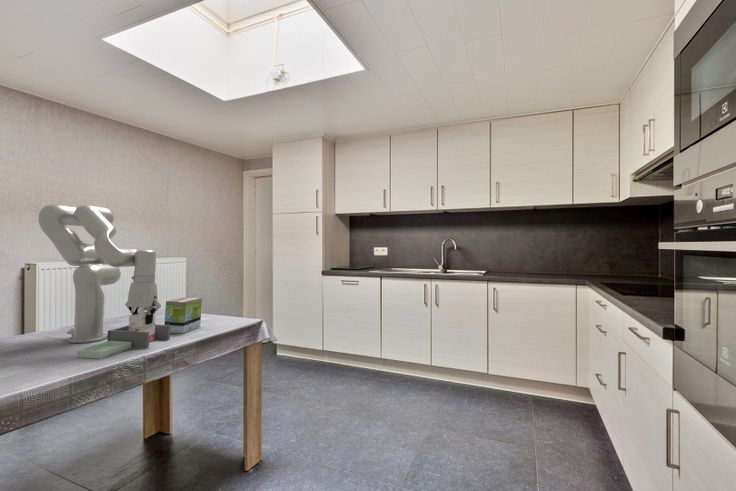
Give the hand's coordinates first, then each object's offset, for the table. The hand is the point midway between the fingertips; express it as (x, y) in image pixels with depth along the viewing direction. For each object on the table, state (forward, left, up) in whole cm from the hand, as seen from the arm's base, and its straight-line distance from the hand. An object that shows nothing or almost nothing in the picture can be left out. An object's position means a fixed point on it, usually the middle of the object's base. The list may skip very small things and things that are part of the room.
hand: (142, 322), depth 141 cm
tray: (-3, -14, -8) cm, 17 cm away
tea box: (+2, +24, -8) cm, 26 cm away
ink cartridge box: (0, 0, -8) cm, 8 cm away
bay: (-1, 0, -8) cm, 8 cm away
